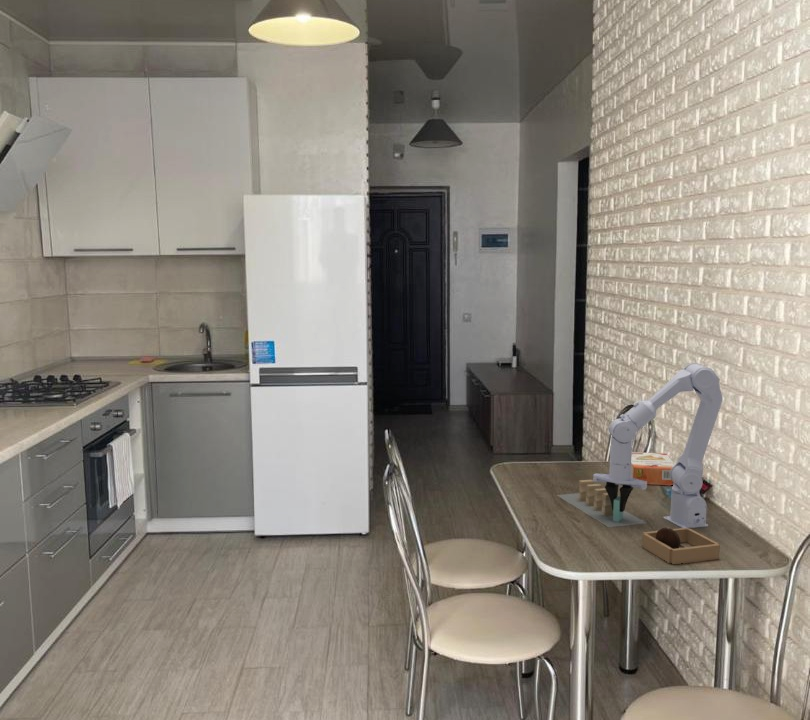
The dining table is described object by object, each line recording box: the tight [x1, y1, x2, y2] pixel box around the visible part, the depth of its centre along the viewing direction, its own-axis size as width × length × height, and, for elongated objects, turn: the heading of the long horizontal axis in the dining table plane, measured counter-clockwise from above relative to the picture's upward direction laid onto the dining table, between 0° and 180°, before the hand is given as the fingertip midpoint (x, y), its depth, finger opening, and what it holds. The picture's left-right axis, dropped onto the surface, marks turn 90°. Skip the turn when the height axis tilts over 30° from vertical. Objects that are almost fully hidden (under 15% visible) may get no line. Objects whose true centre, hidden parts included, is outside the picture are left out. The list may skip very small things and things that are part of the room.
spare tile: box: [613, 495, 623, 522], centre depth 219 cm, size 2×4×6 cm, turn 147°
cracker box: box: [631, 451, 675, 486], centre depth 264 cm, size 14×6×21 cm
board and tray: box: [556, 492, 721, 565], centre depth 217 cm, size 56×15×4 cm, turn 17°
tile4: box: [586, 483, 602, 506], centre depth 232 cm, size 2×4×6 cm, turn 107°
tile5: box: [577, 479, 594, 502], centre depth 236 cm, size 2×4×6 cm, turn 107°
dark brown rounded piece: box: [656, 527, 686, 549], centre depth 197 cm, size 8×8×7 cm
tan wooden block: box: [594, 487, 607, 511], centre depth 228 cm, size 2×4×6 cm, turn 107°
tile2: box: [602, 493, 619, 516], centre depth 223 cm, size 2×4×6 cm, turn 107°
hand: (618, 510), depth 219 cm, fingers closed on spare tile, 2 cm apart
